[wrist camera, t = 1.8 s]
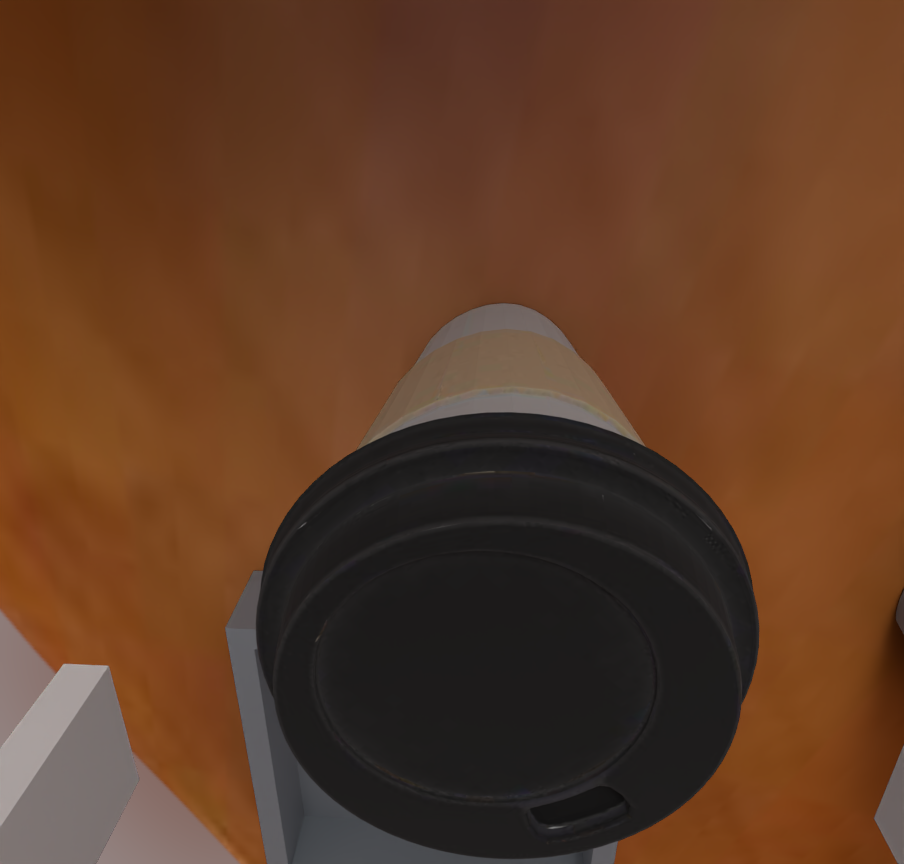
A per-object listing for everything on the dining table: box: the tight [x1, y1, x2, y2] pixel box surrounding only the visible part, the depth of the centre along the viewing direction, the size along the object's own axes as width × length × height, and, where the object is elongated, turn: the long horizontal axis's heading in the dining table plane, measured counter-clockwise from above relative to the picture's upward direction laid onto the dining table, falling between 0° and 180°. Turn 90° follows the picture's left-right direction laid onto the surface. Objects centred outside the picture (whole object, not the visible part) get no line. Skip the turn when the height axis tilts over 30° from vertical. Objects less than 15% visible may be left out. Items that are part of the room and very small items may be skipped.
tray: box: [225, 571, 618, 864], centre depth 31 cm, size 16×16×4 cm
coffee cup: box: [256, 303, 759, 859], centre depth 19 cm, size 9×9×15 cm
